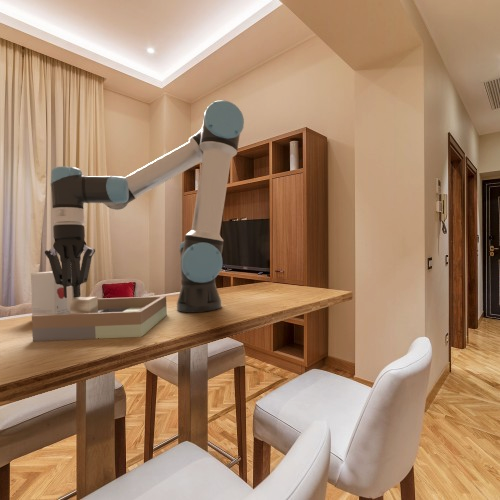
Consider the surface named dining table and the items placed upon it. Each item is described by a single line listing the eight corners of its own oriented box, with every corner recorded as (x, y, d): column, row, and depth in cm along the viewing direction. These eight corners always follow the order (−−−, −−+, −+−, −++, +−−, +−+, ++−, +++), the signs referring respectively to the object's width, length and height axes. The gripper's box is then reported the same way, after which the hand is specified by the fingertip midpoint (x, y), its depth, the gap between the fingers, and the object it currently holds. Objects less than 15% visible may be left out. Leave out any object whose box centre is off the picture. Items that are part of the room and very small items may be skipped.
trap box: (166, 314, 100) (166, 296, 99) (141, 336, 76) (140, 311, 75) (84, 318, 99) (83, 299, 99) (32, 341, 75) (31, 316, 75)
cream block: (98, 314, 90) (97, 296, 90) (89, 318, 85) (88, 299, 85) (80, 314, 90) (79, 297, 90) (70, 318, 85) (69, 300, 85)
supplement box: (55, 321, 97) (53, 272, 97) (31, 320, 99) (29, 273, 98) (77, 314, 106) (75, 270, 106) (54, 314, 108) (52, 270, 107)
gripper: (36, 224, 83) (40, 313, 83) (85, 222, 83) (89, 311, 84) (53, 226, 91) (57, 307, 91) (98, 224, 91) (102, 305, 91)
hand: (72, 309), depth 87 cm, fingers closed
